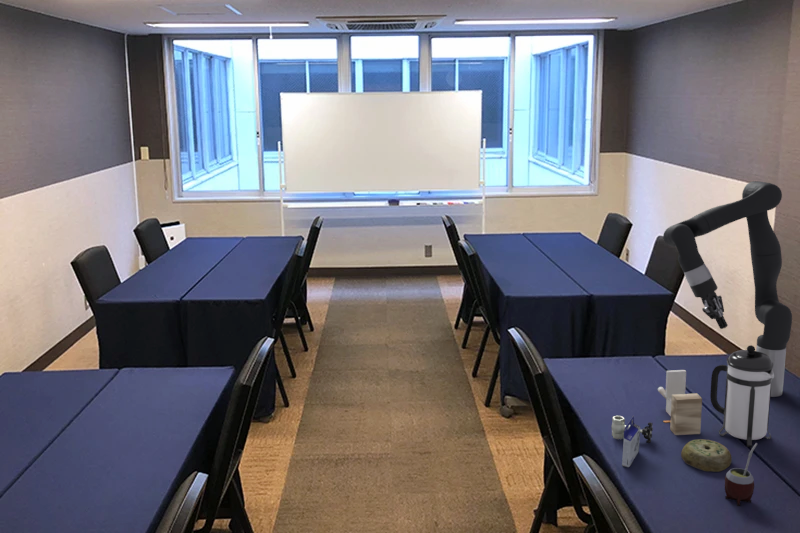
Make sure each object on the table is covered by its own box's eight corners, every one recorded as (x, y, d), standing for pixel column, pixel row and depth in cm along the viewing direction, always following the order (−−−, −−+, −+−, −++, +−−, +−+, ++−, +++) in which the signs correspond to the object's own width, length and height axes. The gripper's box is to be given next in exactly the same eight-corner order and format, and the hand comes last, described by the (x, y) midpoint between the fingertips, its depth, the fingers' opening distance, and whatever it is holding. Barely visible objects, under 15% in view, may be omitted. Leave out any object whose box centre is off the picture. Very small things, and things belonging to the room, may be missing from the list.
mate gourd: (724, 504, 191) (727, 452, 188) (723, 489, 198) (726, 439, 195) (755, 509, 188) (759, 456, 185) (753, 494, 195) (757, 442, 192)
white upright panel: (664, 411, 240) (666, 370, 237) (682, 410, 240) (684, 369, 237) (669, 416, 236) (671, 375, 233) (687, 415, 236) (689, 374, 233)
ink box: (629, 468, 211) (630, 431, 209) (621, 466, 212) (622, 430, 210) (640, 451, 221) (641, 416, 218) (632, 449, 222) (633, 414, 219)
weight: (739, 472, 206) (740, 456, 205) (691, 474, 207) (692, 458, 206) (719, 450, 220) (720, 434, 218) (674, 451, 220) (675, 436, 219)
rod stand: (648, 404, 252) (649, 372, 249) (671, 403, 252) (672, 371, 249) (675, 435, 230) (676, 399, 227) (700, 433, 230) (702, 398, 227)
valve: (609, 440, 228) (649, 447, 223) (609, 421, 227) (649, 427, 221) (613, 431, 234) (652, 438, 229) (613, 412, 232) (653, 418, 227)
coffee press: (767, 427, 232) (774, 338, 225) (774, 450, 217) (782, 356, 210) (708, 421, 238) (713, 334, 231) (711, 444, 223) (717, 351, 216)
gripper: (704, 282, 232) (729, 331, 232) (717, 270, 242) (741, 317, 241) (683, 290, 237) (707, 337, 237) (696, 278, 247) (719, 324, 246)
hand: (724, 327), depth 239 cm, fingers closed
